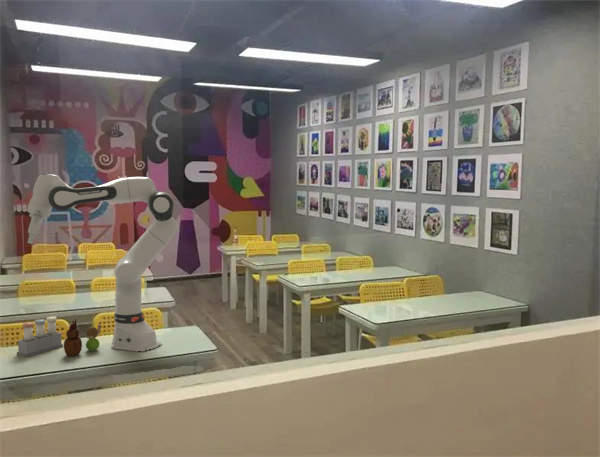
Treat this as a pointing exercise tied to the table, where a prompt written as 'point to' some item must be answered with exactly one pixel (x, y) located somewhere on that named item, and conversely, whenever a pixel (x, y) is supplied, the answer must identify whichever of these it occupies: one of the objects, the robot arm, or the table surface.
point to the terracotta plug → (28, 331)
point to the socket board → (39, 345)
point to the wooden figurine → (72, 341)
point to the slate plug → (40, 328)
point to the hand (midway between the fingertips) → (30, 241)
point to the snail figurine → (93, 338)
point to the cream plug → (51, 325)
